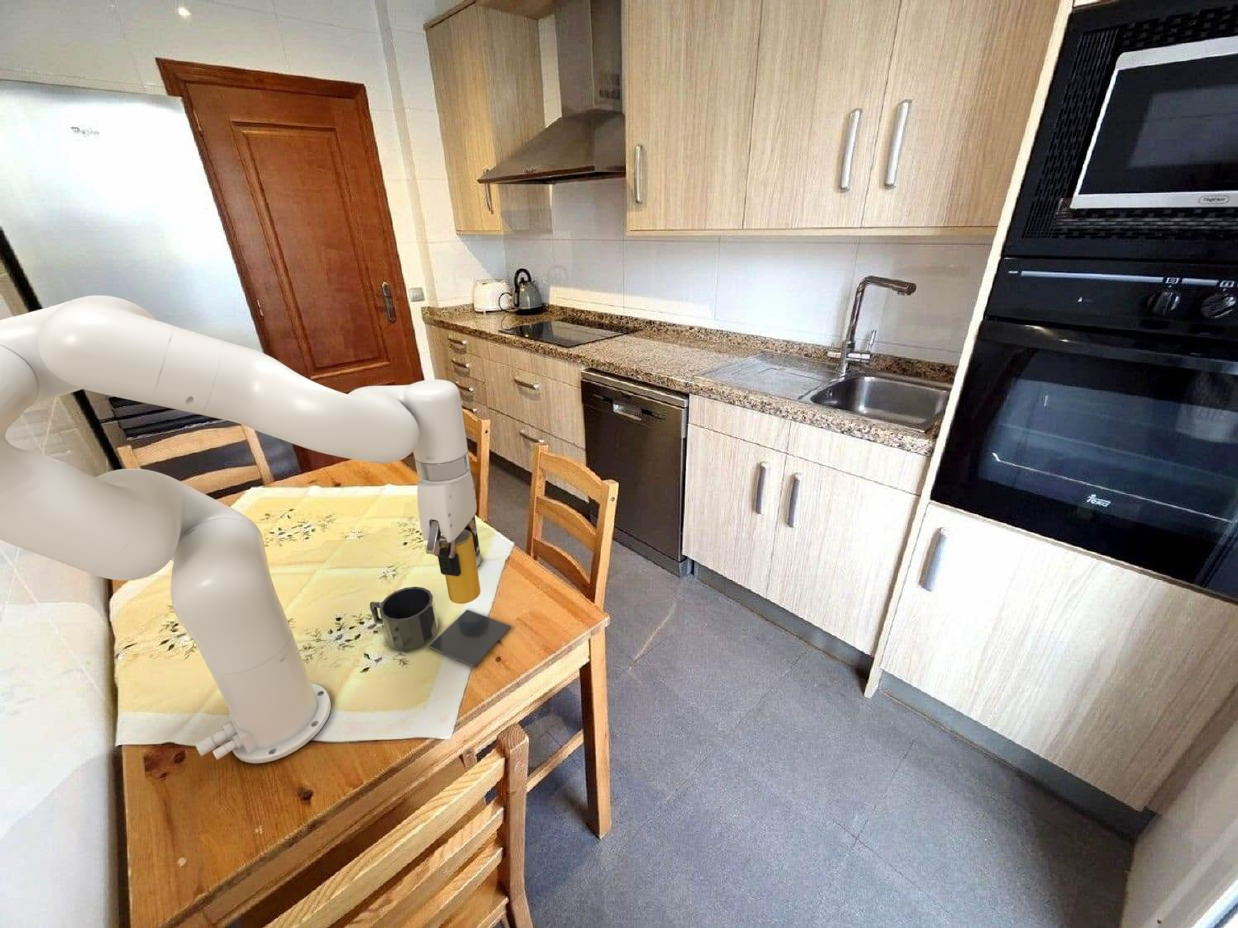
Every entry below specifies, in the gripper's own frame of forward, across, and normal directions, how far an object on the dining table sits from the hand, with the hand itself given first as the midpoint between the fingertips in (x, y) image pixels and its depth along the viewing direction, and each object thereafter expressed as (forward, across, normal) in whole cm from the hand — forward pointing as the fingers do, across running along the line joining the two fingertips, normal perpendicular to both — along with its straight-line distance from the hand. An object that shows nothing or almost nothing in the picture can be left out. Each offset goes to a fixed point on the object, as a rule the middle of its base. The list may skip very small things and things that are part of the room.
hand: (459, 561), depth 82 cm
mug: (+17, +1, -12) cm, 21 cm away
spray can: (+17, -20, -11) cm, 28 cm away
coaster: (+17, 0, 0) cm, 17 cm away
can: (+7, 0, 0) cm, 7 cm away
